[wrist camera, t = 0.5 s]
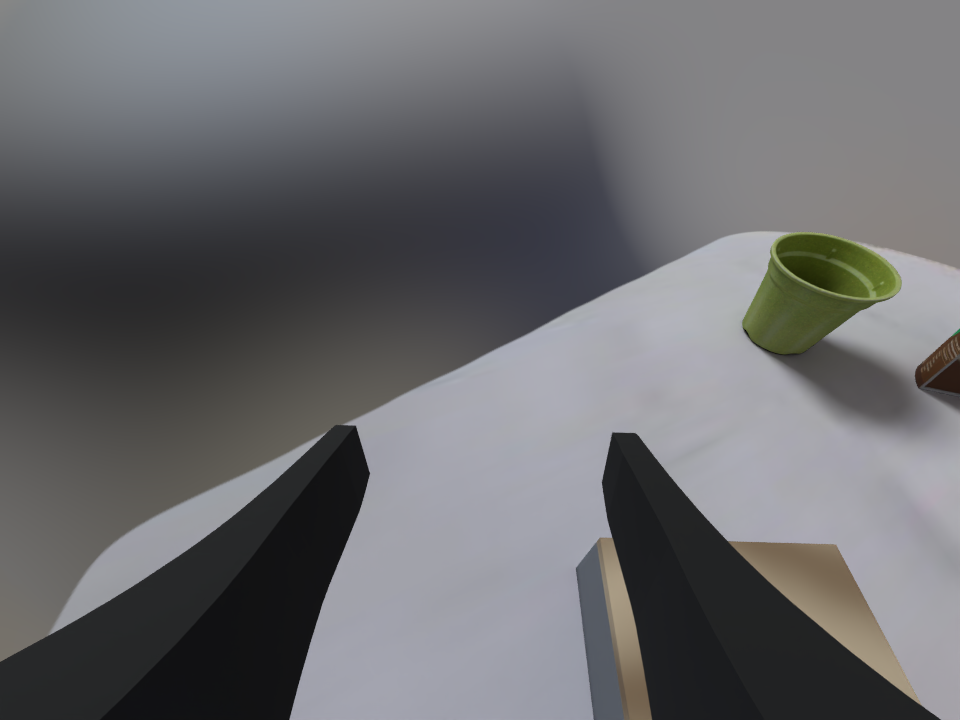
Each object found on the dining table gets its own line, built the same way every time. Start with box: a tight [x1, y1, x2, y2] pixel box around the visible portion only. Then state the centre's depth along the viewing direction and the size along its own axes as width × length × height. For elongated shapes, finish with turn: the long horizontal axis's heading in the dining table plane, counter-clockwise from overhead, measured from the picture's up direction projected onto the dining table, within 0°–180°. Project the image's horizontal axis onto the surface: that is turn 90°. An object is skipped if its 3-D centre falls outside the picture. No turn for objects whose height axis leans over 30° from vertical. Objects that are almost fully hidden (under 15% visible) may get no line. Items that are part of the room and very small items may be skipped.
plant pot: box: [742, 232, 902, 354], centre depth 35 cm, size 9×9×9 cm
